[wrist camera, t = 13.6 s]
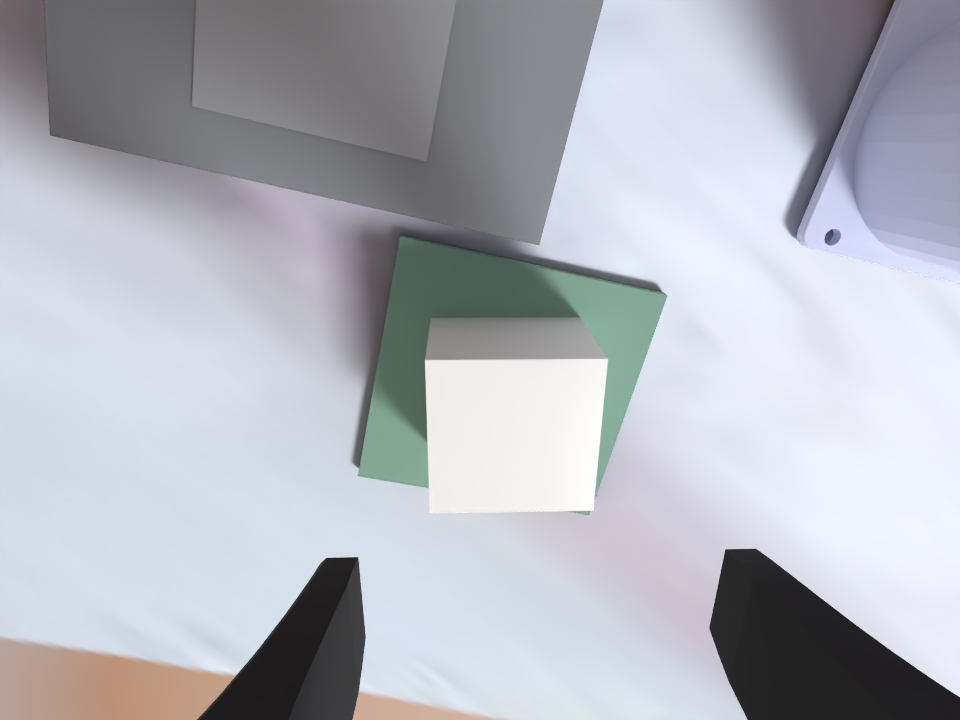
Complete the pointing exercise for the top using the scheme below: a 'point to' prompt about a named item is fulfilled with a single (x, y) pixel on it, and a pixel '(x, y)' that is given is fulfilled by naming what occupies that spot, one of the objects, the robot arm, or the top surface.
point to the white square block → (513, 414)
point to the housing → (335, 96)
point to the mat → (490, 294)
